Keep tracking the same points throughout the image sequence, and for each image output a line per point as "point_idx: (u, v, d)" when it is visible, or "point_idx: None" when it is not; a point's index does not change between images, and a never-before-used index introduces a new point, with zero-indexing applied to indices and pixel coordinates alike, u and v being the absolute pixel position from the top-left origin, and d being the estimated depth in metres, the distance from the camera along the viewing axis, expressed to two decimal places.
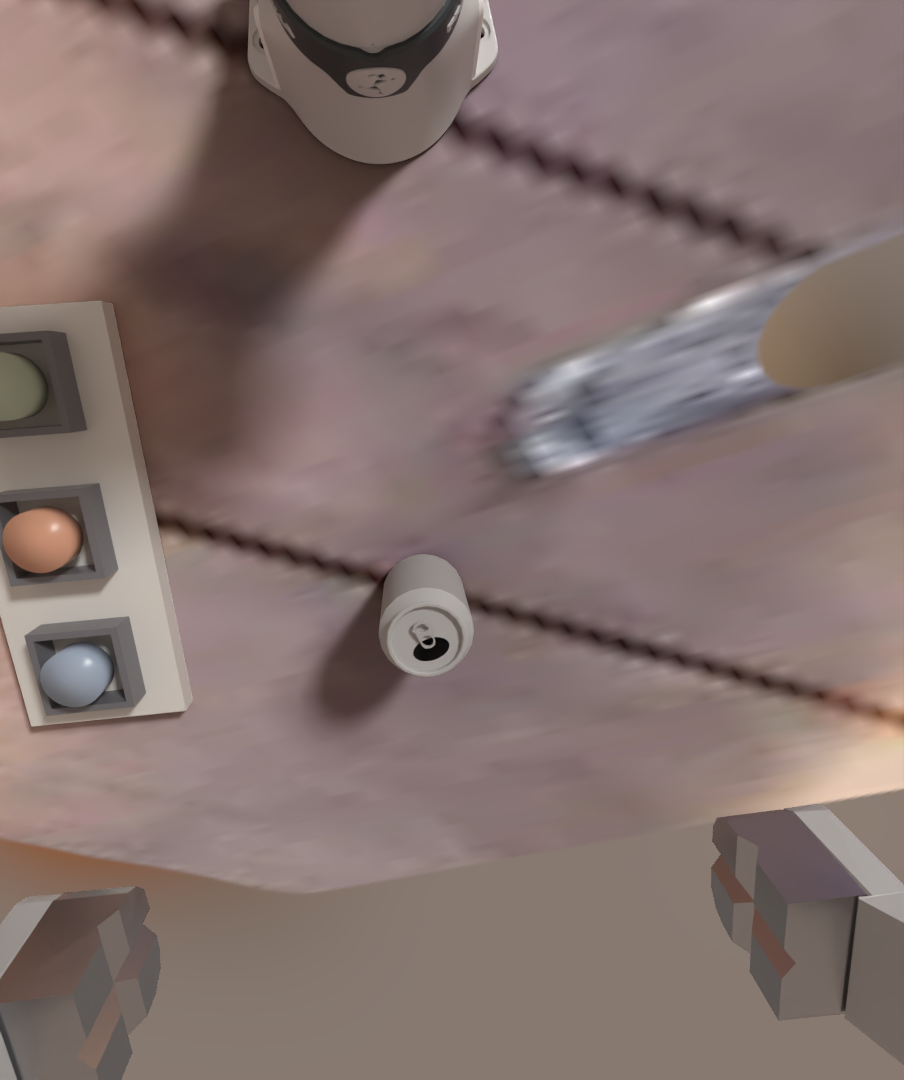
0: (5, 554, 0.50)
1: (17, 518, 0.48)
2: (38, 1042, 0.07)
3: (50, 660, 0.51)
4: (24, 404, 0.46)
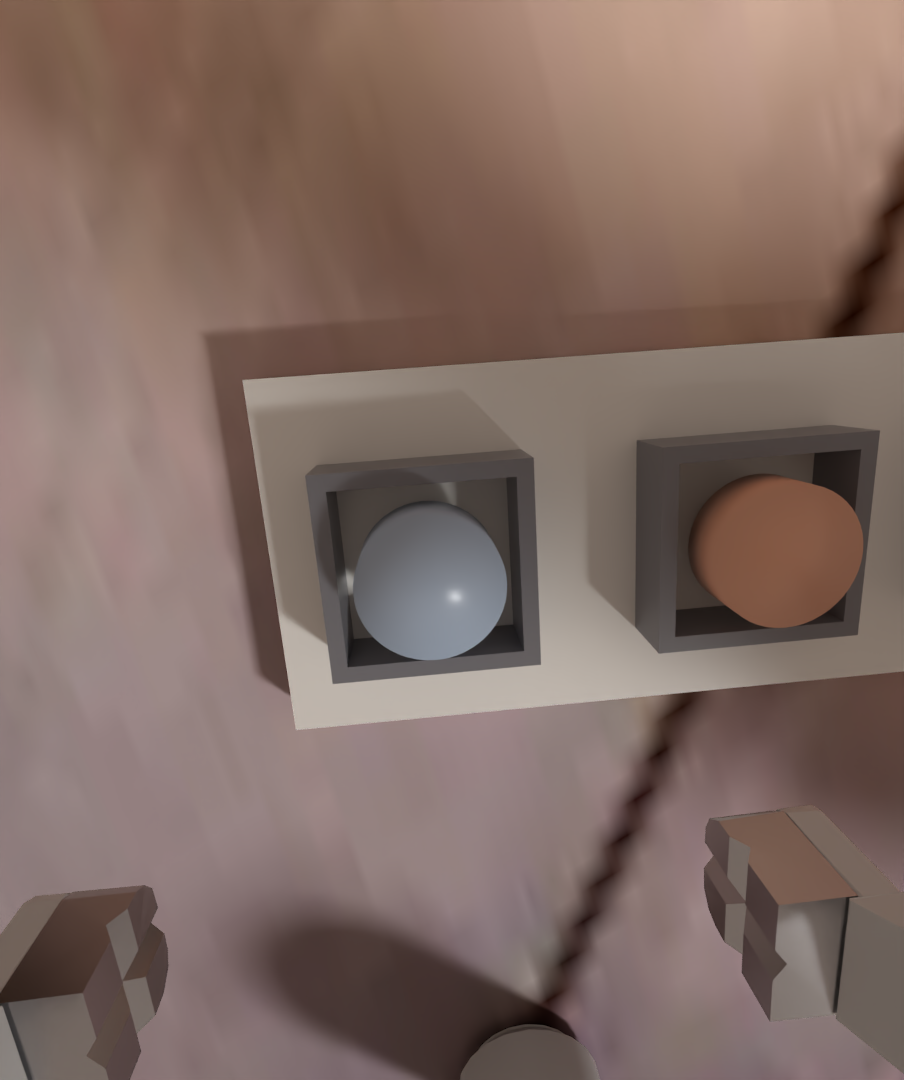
0: (741, 449, 0.21)
1: (852, 526, 0.20)
2: (48, 1041, 0.07)
3: (489, 547, 0.20)
4: None
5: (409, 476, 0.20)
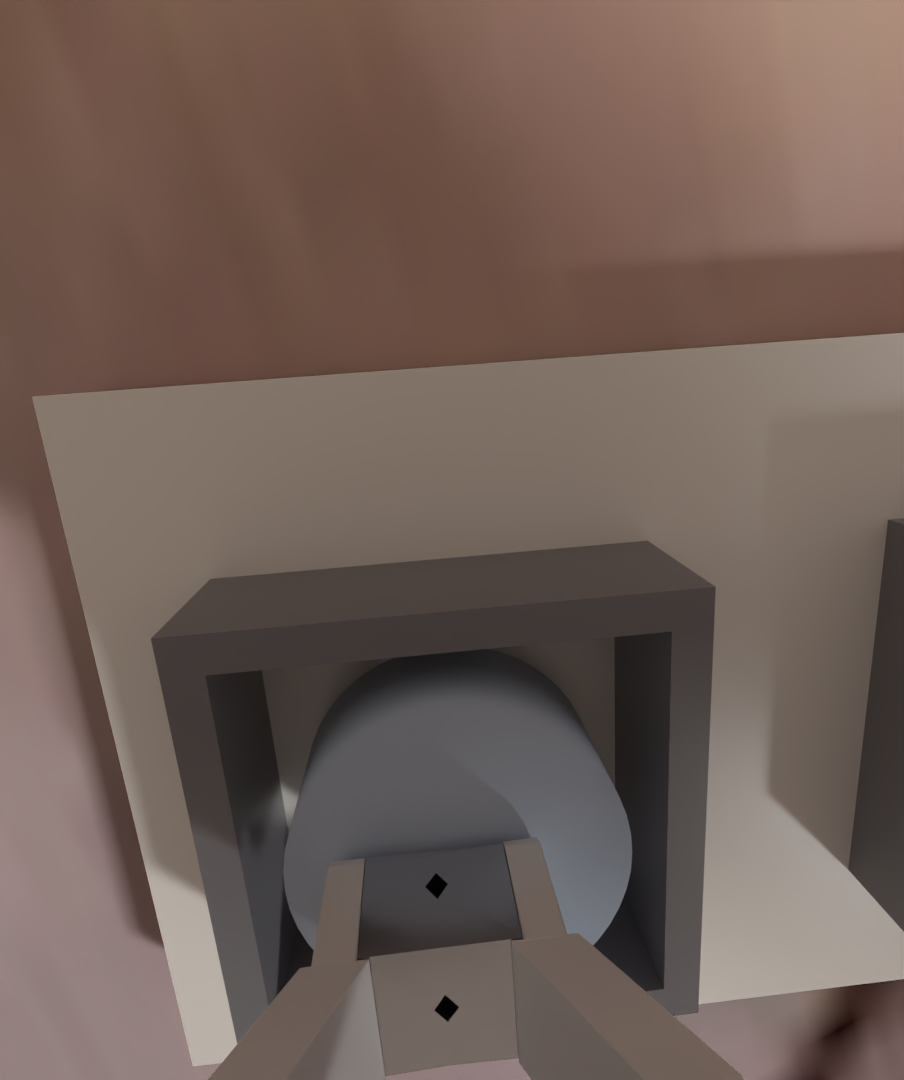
0: None
1: None
2: (402, 995, 0.07)
3: (595, 781, 0.09)
4: None
5: (412, 635, 0.08)
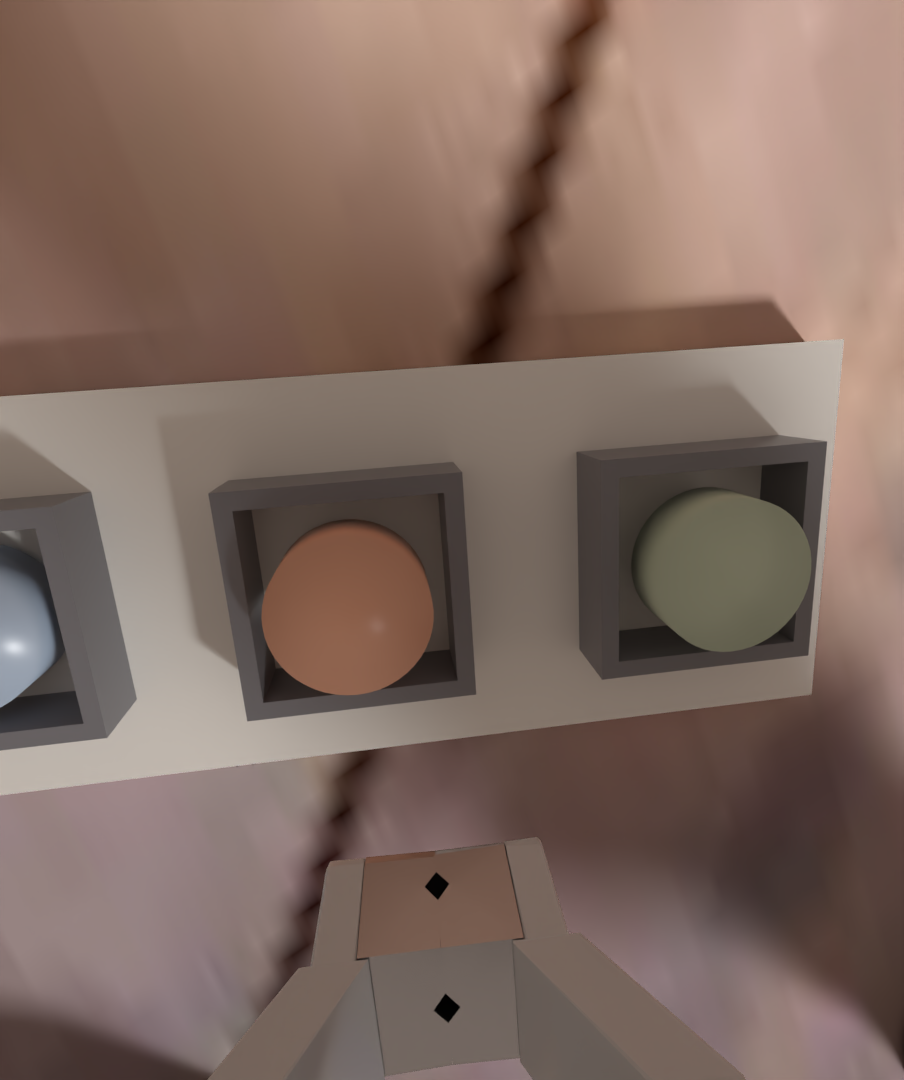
0: (303, 494, 0.19)
1: (414, 581, 0.18)
2: (402, 995, 0.07)
3: (7, 595, 0.18)
4: (691, 632, 0.19)
5: None
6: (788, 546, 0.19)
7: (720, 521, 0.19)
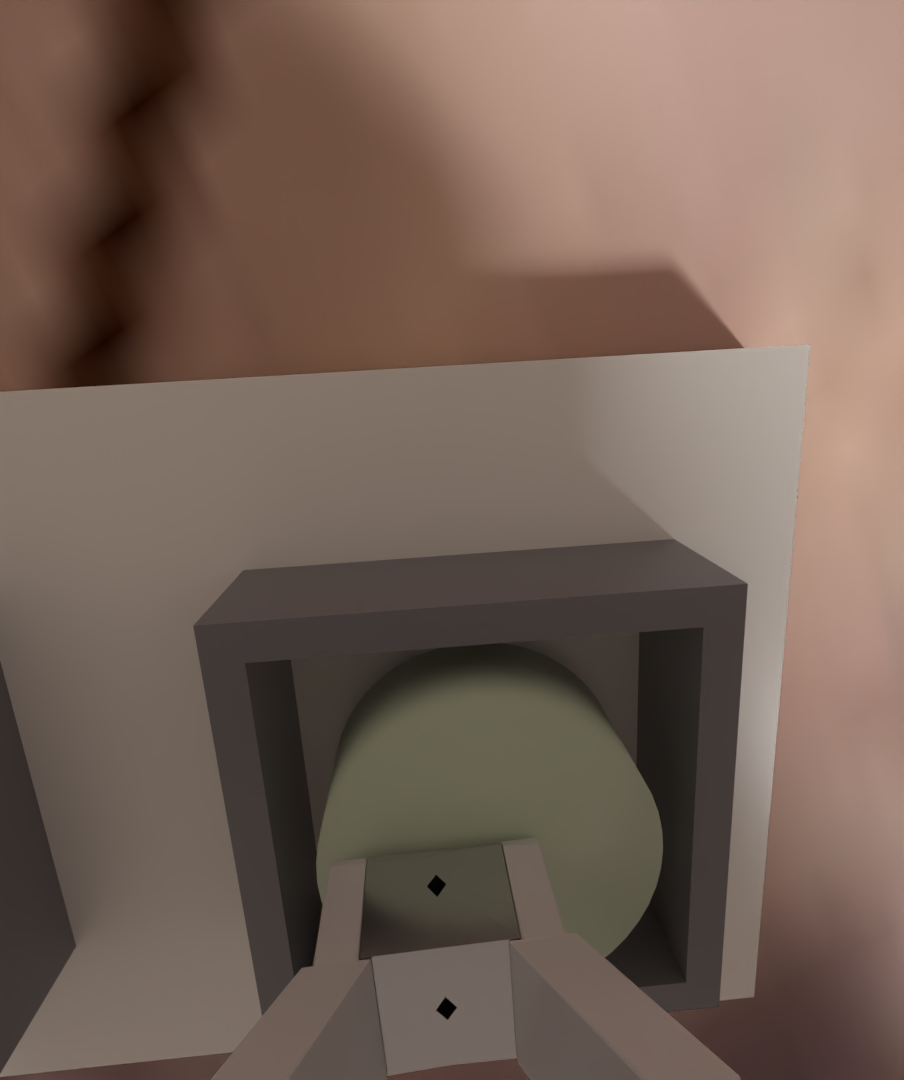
0: None
1: None
2: (404, 995, 0.07)
3: None
4: None
5: None
6: (607, 804, 0.09)
7: (442, 755, 0.08)
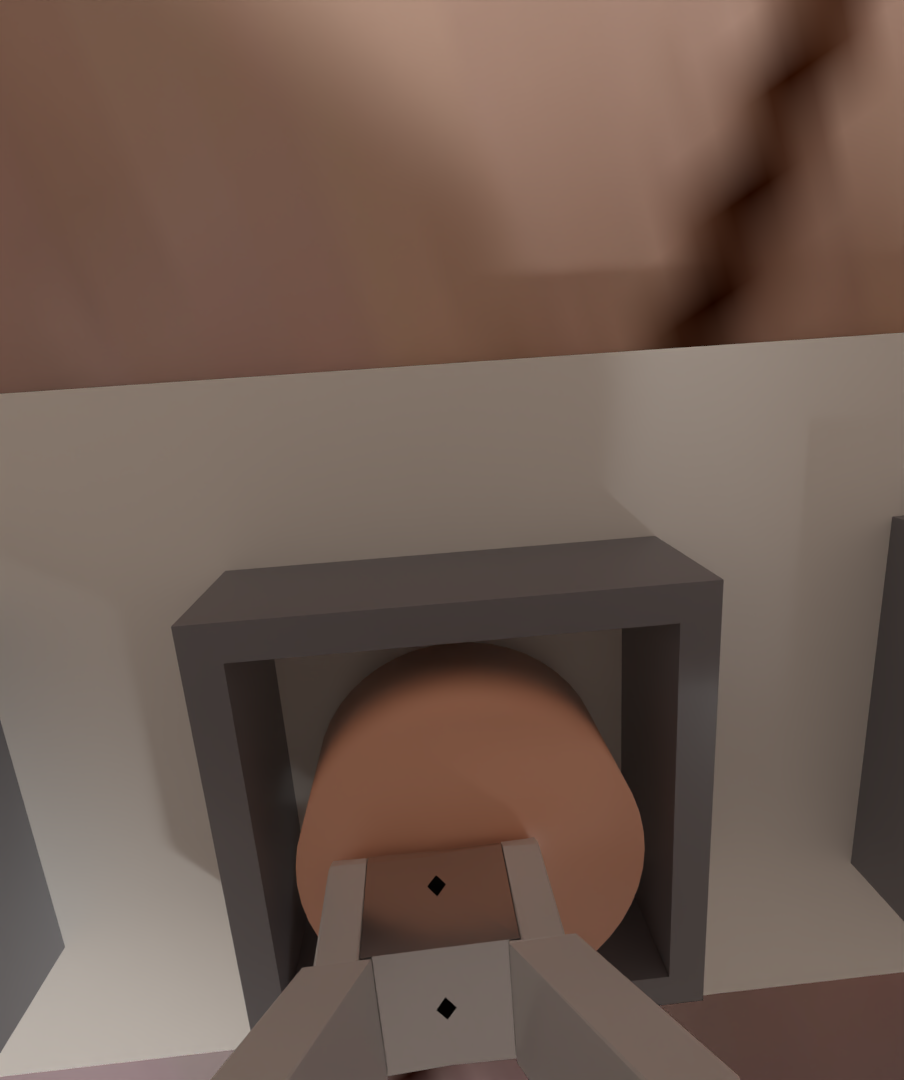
0: (377, 627, 0.08)
1: (611, 797, 0.09)
2: (404, 995, 0.07)
3: None
4: None
5: None
6: None
7: None
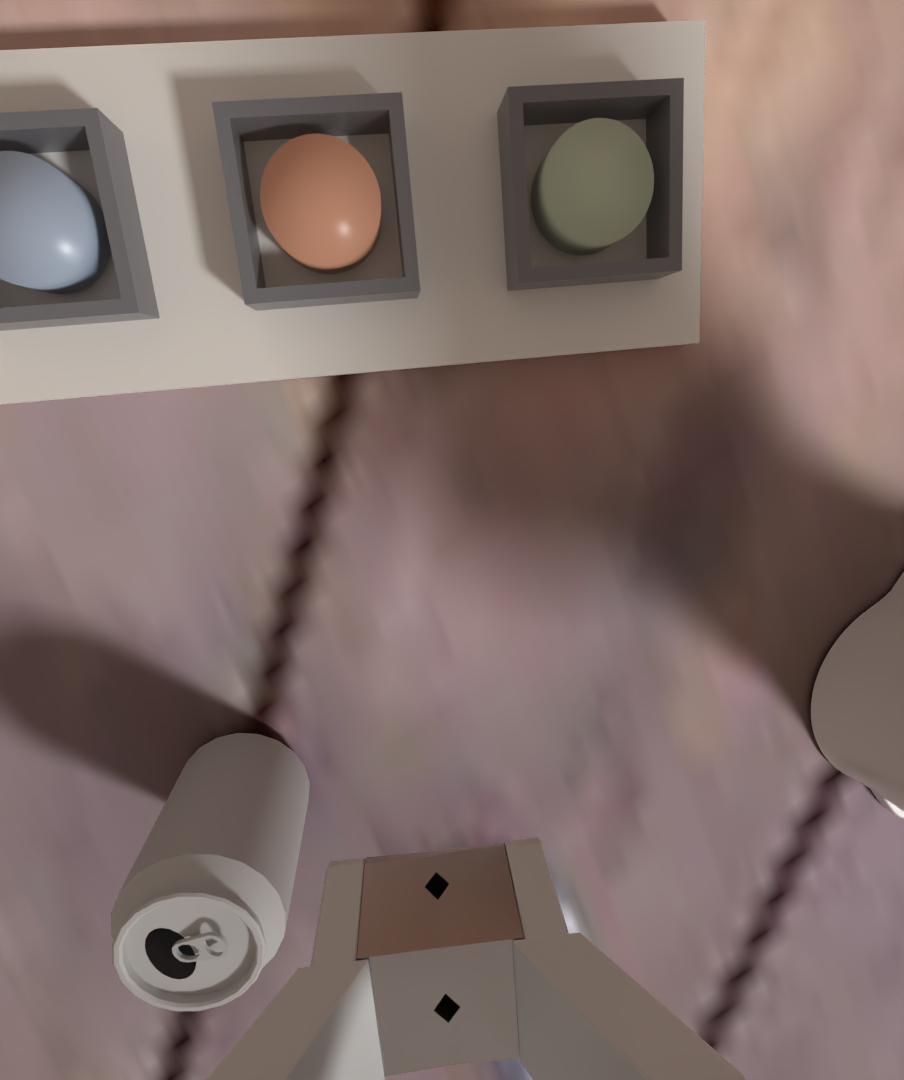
0: (282, 106, 0.25)
1: (366, 173, 0.26)
2: (401, 995, 0.07)
3: (64, 182, 0.25)
4: (568, 227, 0.27)
5: None
6: (635, 158, 0.27)
7: (584, 135, 0.26)
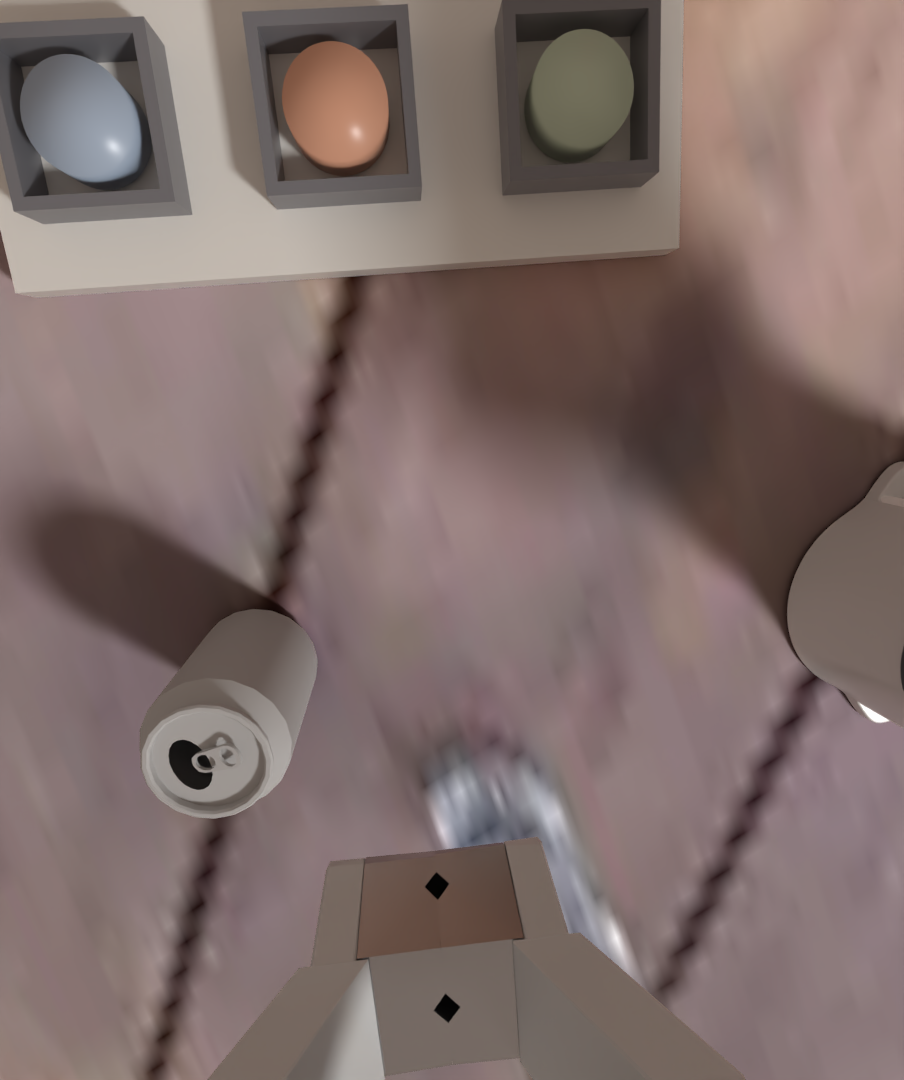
0: (303, 15, 0.28)
1: (375, 77, 0.29)
2: (402, 995, 0.07)
3: (114, 83, 0.28)
4: (556, 130, 0.30)
5: (50, 28, 0.28)
6: (617, 67, 0.30)
7: (570, 45, 0.29)
